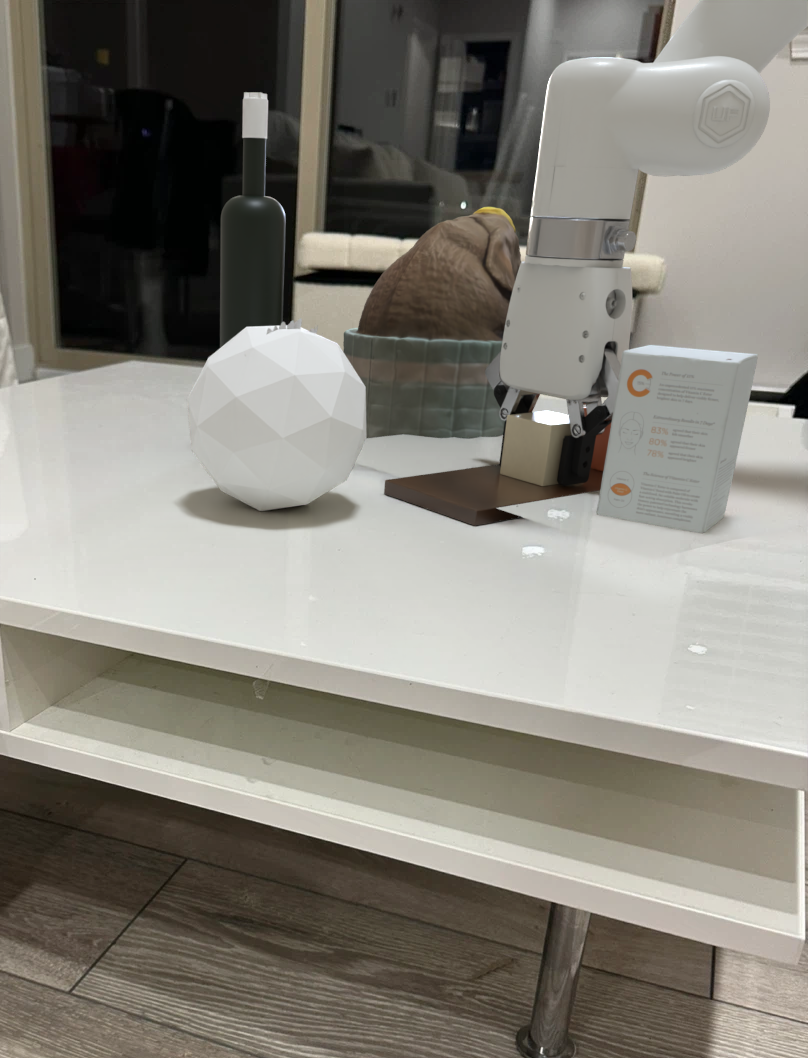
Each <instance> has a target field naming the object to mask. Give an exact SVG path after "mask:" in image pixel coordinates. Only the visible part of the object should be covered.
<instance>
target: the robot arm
mask: <svg viewBox="0 0 808 1058" xmlns="http://www.w3.org/2000/svg"><path fill="white" fill-rule="evenodd" d="M807 28H808V0H699V1H697V2H696V4H695V5H694V6H693V8H692V10H690V12H689V13H688V14H687V16H686V17H685V18H684V19H683V21H682V22H681V24H679V27H678V28H677V29H676V31H675V32H674V33H673V34H672V36H671V37H670V39H669V40H668V41H667V43H666V44H665V45H664V46H663V48H662V50H661V51H660V52H659V54H658V55H657V57H656V58H655V59H654V61H653V62H641V61H639V60H636V59H631V58H623V57H608V56H606V57H605V56H604V57H603V56H602V57H600V56H598V57H597V56H596V57H594V56H593V57H581V58H575V59H569V60H567V61H564V62H562V63H560V64H558V65H557V66H556V67H555V68H554V69H553V71H552V73H551V75H550V77H549V78H548V82H547V87H546V91H545V92H546V93H545V99H544V106H543V107H544V108H543V115H542V123H541V130H540V131H541V133H540V138H539V139H540V140H539V148H538V156H537V163H536V172H535V179H534V185H533V194H532V200H531V201H532V202H531V209H530V218H529V225H528V234H527V241H526V249H525V257H524V261H521V264H520V267H519V270H518V273H517V276H516V280H515V284H514V287H513V291H512V295H511V299H510V303H509V308H508V313H507V317H506V323H505V328H504V334H503V341H502V348H501V352H500V353H499V354H498V355H497V356H496V357H495V358H494V360H493V361H492V362H491V363H490V364H489V365H488V366H487V368H486V370H485V375H486V377H487V379H488V381H489V383H490V385H491V387H492V389H494V396H495V398H496V400H497V402H498V404H499V406H500V412H499V415H500V418H501V419H502V420H504V421H505V423H504V431H503V435H502V441H501V448H500V456H499V461H498V463H499V466H500V467H501V462H502V454H503V446H504V438H505V430H506V422H507V415H513V414H522V413H531V412H534V409H535V407H536V404H537V402H538V400H539V398H540V397H541V396H542V395H543V396H548V397H552V398H559V399H562V400H566V408H567V415H568V416H569V423H570V430H571V435H569V436H565V437H564V439H563V444H562V451H561V457H560V464H559V470H558V477H557V482H558V484H560V485H563V486H567V485H573V484H580V483H585V482H587V481H588V479H589V473H590V469H591V464H592V458H593V452H594V446H595V440H596V435H601V434H602V433H603V432H604V430H605V427H607V426H608V425H609V424H610V423H611V422H612V417H613V411H614V405H615V399H616V393H617V386H618V381H619V374H620V367H621V361H622V353H623V352H624V351H625V350H630V341H631V331H632V317H633V279H632V278H633V277H632V268H631V267H629V266H624V259H625V254H626V251H627V252H630V251H632V250H633V249H634V248H635V245H636V243H637V235H636V233H635V232H634V231H631V230H630V231H629V229H630V224H631V221H630V220H631V216H632V210H633V204H634V199H635V193H636V187H637V182H638V177H639V171H640V172H642V173H644V174H646V175H649V176H653V177H677V176H678V177H679V176H680V177H692V176H704V175H705V176H706V175H710V174H714V173H718V172H720V171H723V170H726V169H727V168H730V167H731V166H733V165H735V164H736V163H738V162H739V161H740V160H742V159H743V158H744V157H745V156H747V155H748V154H749V153H750V152H751V151H752V150H753V149H754V147H755V146H756V144H757V143H758V142H759V141H760V139H761V138H762V135H763V133H764V131H765V129H766V127H767V124H768V121H769V117H770V110H771V100H770V99H771V98H770V93H769V88H768V86H767V84H766V82H765V79H764V78H763V77H762V75H761V73H762V72H763V70H764V69H765V68H766V67H767V66H768V65H769V64H770V63H771V62H772V61H773V60H774V58H775V57H777V55H779V53H780V52H781V51H783V50H784V49H785V48H786V47H787V46H788V45H789V44H790V43H791V42H792V41H793V40H794V39H795V38H797V36H799V34H801V33H802V32H803V31H804V30H806V29H807ZM522 395H524V396H523V398H521V397H522ZM602 398H606V399H604V400H603V402H602ZM584 407H586V410H587V416H585V413H584Z"/></svg>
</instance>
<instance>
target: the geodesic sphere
mask: <svg viewBox="0 0 808 1058" xmlns="http://www.w3.org/2000/svg"><path fill="white" fill-rule="evenodd" d="M302 325H303V318H302V317H300V318H298V319H297V320H296V321H295V320H294V319H292V320H291V321H289V323H288V324H286V322H285V321H283V322H282V323H281V325H280V326H255V327H246V328H244V329H243V330H242V331H241V332H239V333H238V334H237V335H236V336H235V337H233V338H232V339H231V340H230V341H228V342H227V343H226V344H225V345H223V346H222V347H221V348H220V347H219V348H218V349H217V350H216V351H215V352H213V353H212V354H211V355H209V356H208V357H207V360H206V361H205V363H204V365H203V367H202V368H201V371H200V372H199V375H198V377H197V379H196V380H195V382H194V385H193V387H192V388H191V390H190V392H189V394H188V395H187V397H186V405H187V415H188V417H187V418H188V426H189V427H188V428H189V438H190V448H191V449H190V450H191V452H192V453H193V455H194V456H195V458H196V459H197V460H198V462H199V463H200V464H201V465H202V467H203V468H204V469H205V471H206V472H207V474H208V475H209V476H210V478H211V479H212V481H213V482H214V483H215V485H216V486H217V487H218V489H219V490H220V491H221V492H222V493H225V495H229V496H230V497H232V498H234V499H236V500H238V501H240V502H242V503H244V504H245V505H248V506H249V507H251V508H253V509H254V510H255V509H256V510H257V511H259V512H265V511H271V510H278V509H285V508H293V507H300V506H307V505H308V504H310V503H312V502H313V501H315V500H316V499H319V498H320V497H322V496H323V495H325V494H327V493H328V492H330V491H331V490H333V489H336V487H338V486H340V485H341V484H343V483H345V482H346V481H347V480H348V479H349V477H350V475H351V473H352V470H353V468H354V466H355V464H356V461H357V460H358V457H359V456H360V453H361V451H362V449H363V447H364V445H365V442H366V440H367V438H366V387H365V385H364V384H363V382H362V381H361V379H360V377H359V376H358V374H357V373H356V371H355V370H354V368H353V366H352V365H351V363H350V362H349V360H348V359H347V357H346V356H345V354H344V352H343V350H342V347H341V346H340V345H339V343H338V342H336V341H334V340H331V339H330V338H326V337H324V336H323V332H322V333H321V335H320V334H317V333H318V329H319V325H318V324H317V325H316V323H315V325H314V328H313V327H311V328H310V329H309V330H308V329H307V328H304V327H302Z"/></svg>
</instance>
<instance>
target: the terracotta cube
mask: <svg viewBox="0 0 808 1058" xmlns="http://www.w3.org/2000/svg"><path fill="white" fill-rule="evenodd" d="M584 413H585V416H587V410H586V406H584ZM611 423H612V422H611ZM611 423H610V424H609V425H608V426H607V427H605V430H604V432H603V433H602V434H601V435H596V440H595V446H594V452H593V458H592V464H591V468H592V469H596V470H599V471H604V465H605V459H606V453H607V447H608V441H609V435H610V429H611Z"/></svg>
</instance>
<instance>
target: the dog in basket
mask: <svg viewBox="0 0 808 1058" xmlns="http://www.w3.org/2000/svg"><path fill="white" fill-rule="evenodd" d="M519 242H520V239H519V237H518V235H517V234H516V227H515V225H514V222H513V220H512V218H511V217H510V215H509V214H508V213H506V211H505V210H504V209H502V208H500V207H495V206H483V207H482V208H479V209H477V210H476V211H474V212H473V213H472V214H470V215H465V216H458V217H455V218H453V219H446V220H444V221H441V222H438V223H436V224H435V225H434V226H432V227H430V228H429V229H428V230H426V231H425V233H423V234H422V235H421V236H420V237H419V238H418V240H417V241H415V243H414V244H413V246H411V248H409V250H408V251H406V252H405V253H404V254H402V255H400V256H399V257H398V258H396V259H395V261H394V262H393V263H391V264H390V265H389V266H388V267H387V268H386V269H385V270H384V271H382V274H381V275H380V276H379V278H378V279H377V281H376V282H375V284H373V287H372V289H371V291H370V292H369V294H368V296H367V298H366V301H365V303H364V306H363V310H362V311H361V314H360V319H359V321H358V327H352V328H348V329H346V330H345V331H344V332H343V344H342V345H343V350H342V351H343V352H344V354H345V356H346V357H347V359H348V360H349V362H350V363H351V365H352V366H353V368H354V370H355V371H356V373H357V374H358V376H359V377H360V379H361V381H362V382H363V384H364V385H365V387H366V439H375V438H383V437H384V438H385V437H392V436H402V435H407V436H417V437H418V436H419V437H427V438H434V439H435V438H436V439H449V438H456V439H464V440H465V439H466V440H467V439H477V438H495V437H496V438H497V437H500V436H503V431H504V423H505V421H504V420H502V419H501V418H500V415H499V412H500V406H499V404H498V402H497V400H496V398H495V396H494V389H492V387H491V385H490V383H489V381H488V379H487V377H486V375H485V370H486V368H487V366H488V365H489V364H490V363H491V362H492V361H493V360H494V358H495V357H496V356H497V355H498V354H499V353H500V352H501V348H502V341H503V334H504V328H505V323H506V317H507V313H508V308H509V303H510V299H511V295H512V291H513V287H514V284H515V280H516V276H517V273H518V270H519V267H520V264H521V262H522V260H521V259H522V255H521V249H520V248H521V247H520V243H519ZM523 396H524V395H522V397H521V398H523Z"/></svg>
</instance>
